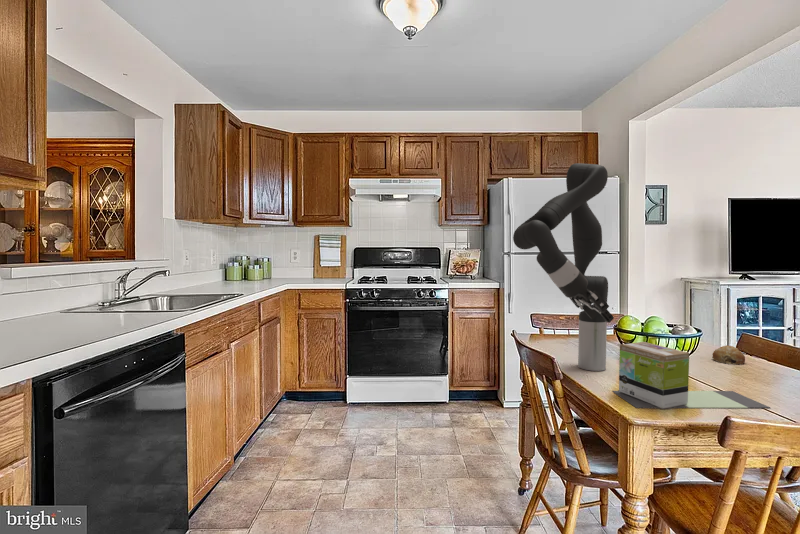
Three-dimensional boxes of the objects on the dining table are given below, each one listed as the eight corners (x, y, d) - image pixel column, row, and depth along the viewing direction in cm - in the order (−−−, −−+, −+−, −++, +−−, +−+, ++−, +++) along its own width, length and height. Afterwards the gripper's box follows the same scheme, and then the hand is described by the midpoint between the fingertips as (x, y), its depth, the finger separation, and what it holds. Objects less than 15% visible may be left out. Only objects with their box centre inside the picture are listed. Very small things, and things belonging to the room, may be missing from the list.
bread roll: (715, 372, 171) (719, 355, 168) (707, 354, 180) (710, 338, 176) (746, 374, 168) (751, 357, 165) (736, 356, 177) (740, 340, 173)
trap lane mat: (612, 391, 136) (612, 390, 136) (732, 391, 136) (732, 391, 136) (636, 408, 122) (636, 407, 122) (770, 408, 122) (770, 407, 122)
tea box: (617, 392, 134) (618, 343, 134) (642, 388, 138) (643, 340, 137) (662, 409, 120) (664, 354, 120) (689, 404, 124) (690, 351, 123)
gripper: (589, 269, 123) (626, 312, 125) (564, 268, 137) (597, 307, 139) (570, 287, 123) (607, 331, 124) (546, 285, 137) (580, 324, 138)
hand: (602, 318), depth 131 cm, fingers open, 8 cm apart
